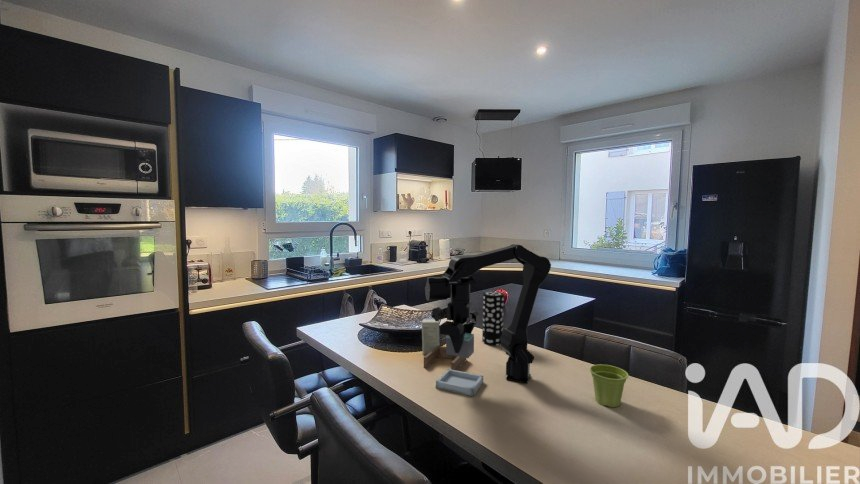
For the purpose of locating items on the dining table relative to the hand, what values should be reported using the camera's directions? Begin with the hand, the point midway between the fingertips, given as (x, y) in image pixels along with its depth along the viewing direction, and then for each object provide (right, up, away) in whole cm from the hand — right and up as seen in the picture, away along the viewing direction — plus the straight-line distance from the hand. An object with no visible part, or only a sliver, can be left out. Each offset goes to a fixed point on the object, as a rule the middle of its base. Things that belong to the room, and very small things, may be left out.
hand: (460, 349), depth 105 cm
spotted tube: (+16, -9, +38) cm, 42 cm away
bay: (-4, -10, +16) cm, 19 cm away
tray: (0, -11, +1) cm, 11 cm away
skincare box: (-9, -9, +26) cm, 29 cm away
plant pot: (+40, -12, -9) cm, 42 cm away
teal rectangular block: (0, -1, 0) cm, 1 cm away
